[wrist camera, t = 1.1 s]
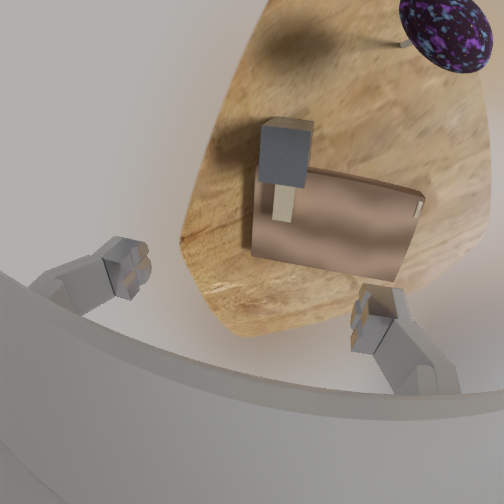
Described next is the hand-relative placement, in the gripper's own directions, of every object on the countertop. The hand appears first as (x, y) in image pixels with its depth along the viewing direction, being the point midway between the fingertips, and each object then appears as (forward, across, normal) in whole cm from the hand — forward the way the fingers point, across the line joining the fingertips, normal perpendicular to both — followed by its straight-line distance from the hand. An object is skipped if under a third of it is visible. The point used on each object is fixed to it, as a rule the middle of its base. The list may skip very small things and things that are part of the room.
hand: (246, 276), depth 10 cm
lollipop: (+22, -10, -14) cm, 28 cm away
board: (+22, -5, +8) cm, 24 cm away
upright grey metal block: (+22, +1, +2) cm, 22 cm away
